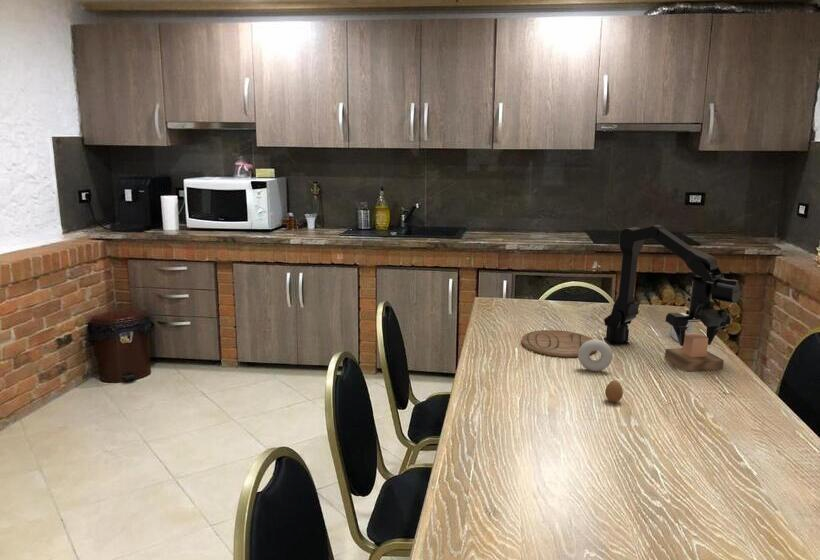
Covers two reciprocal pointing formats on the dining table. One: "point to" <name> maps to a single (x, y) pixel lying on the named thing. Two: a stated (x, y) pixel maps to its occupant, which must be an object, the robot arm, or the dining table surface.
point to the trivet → (555, 343)
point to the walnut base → (693, 360)
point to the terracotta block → (695, 345)
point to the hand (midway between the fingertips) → (695, 345)
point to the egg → (614, 391)
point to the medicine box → (688, 331)
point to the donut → (592, 346)
